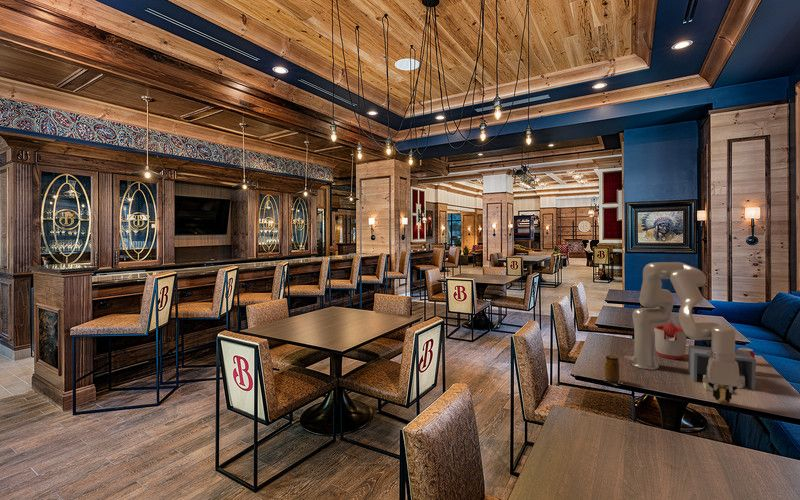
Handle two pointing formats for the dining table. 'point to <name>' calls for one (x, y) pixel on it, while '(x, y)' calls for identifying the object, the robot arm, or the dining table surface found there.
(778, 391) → the dining table surface
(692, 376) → the cubby shelf
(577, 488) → the dining table surface
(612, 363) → the condiment
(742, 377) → the grey block
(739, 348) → the soda can
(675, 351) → the citrus juicer
